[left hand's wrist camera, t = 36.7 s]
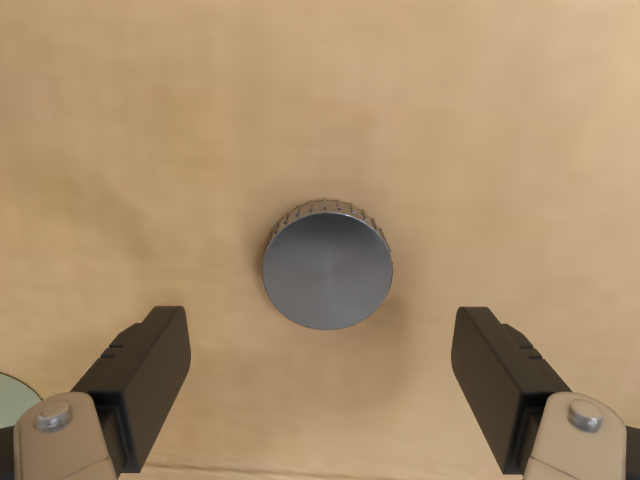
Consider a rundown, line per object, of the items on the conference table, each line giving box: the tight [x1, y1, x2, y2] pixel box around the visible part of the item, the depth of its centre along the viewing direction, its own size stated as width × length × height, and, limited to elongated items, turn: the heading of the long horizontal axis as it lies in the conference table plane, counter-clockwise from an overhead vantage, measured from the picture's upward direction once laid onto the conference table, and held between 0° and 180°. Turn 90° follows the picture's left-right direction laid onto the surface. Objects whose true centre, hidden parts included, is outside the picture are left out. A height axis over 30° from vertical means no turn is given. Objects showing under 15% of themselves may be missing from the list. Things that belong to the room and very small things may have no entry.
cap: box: [262, 199, 393, 330], centre depth 14 cm, size 4×4×2 cm
